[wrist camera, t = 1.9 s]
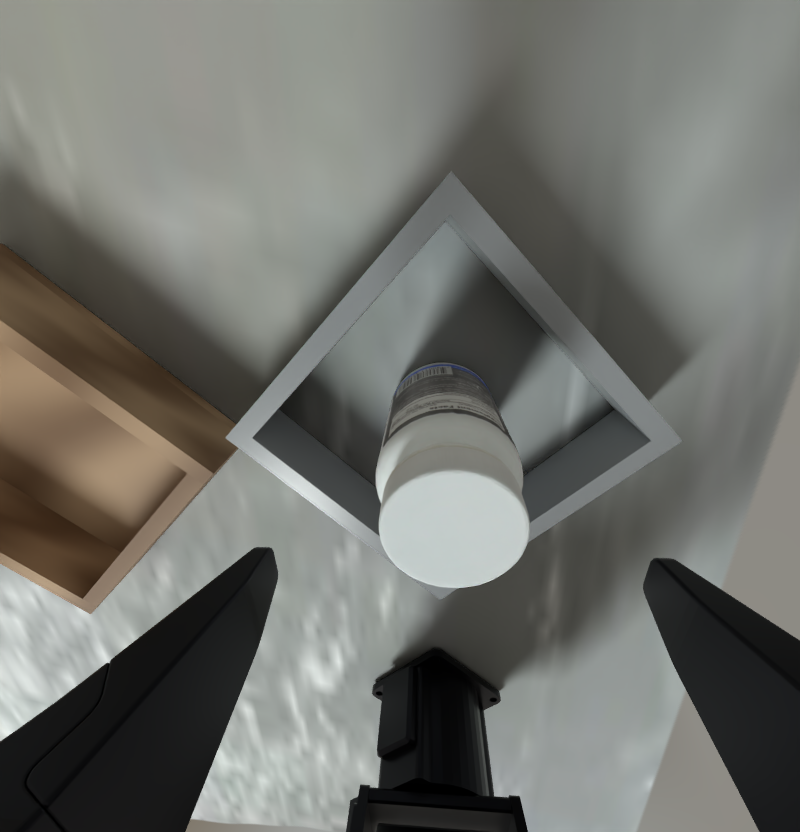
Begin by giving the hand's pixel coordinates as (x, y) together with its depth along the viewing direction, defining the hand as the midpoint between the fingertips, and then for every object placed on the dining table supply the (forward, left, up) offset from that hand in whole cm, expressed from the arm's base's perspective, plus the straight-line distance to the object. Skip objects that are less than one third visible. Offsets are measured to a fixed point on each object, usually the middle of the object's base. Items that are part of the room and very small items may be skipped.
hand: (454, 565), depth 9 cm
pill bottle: (0, 0, -10) cm, 10 cm away
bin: (0, 0, -9) cm, 9 cm away
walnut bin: (+12, +14, -9) cm, 21 cm away
